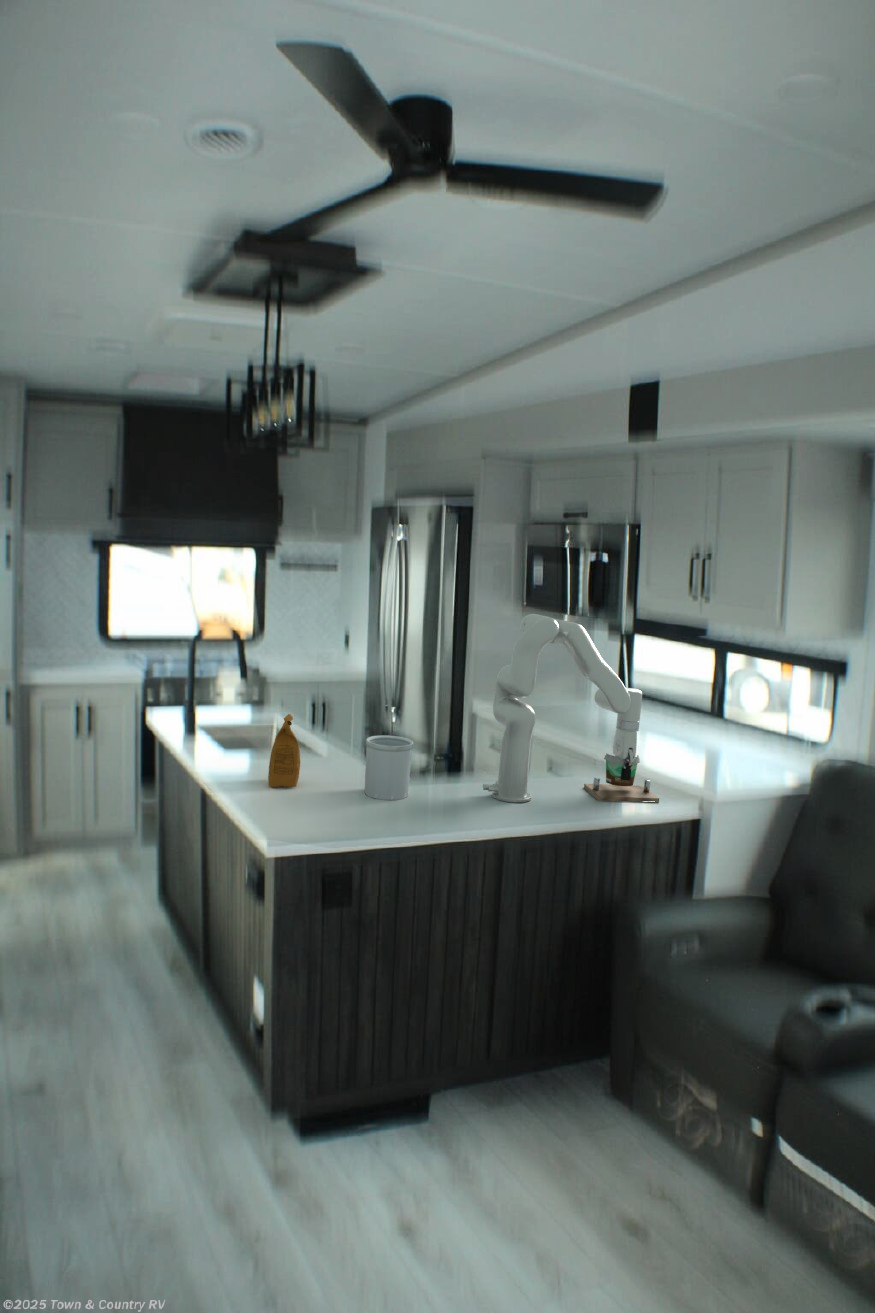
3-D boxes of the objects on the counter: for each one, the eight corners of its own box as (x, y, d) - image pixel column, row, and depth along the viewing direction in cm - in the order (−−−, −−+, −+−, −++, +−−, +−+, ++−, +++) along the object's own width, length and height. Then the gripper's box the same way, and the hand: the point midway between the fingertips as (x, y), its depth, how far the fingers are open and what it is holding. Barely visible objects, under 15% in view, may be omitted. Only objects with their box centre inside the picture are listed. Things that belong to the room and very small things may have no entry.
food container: (607, 786, 332) (610, 757, 331) (601, 782, 338) (604, 753, 337) (642, 787, 334) (645, 758, 333) (636, 783, 340) (639, 754, 339)
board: (598, 800, 328) (600, 784, 327) (583, 787, 343) (585, 772, 343) (658, 802, 331) (660, 786, 330) (641, 790, 347) (643, 774, 346)
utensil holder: (403, 803, 306) (407, 747, 304) (356, 797, 309) (360, 742, 307) (414, 791, 321) (418, 738, 319) (369, 786, 324) (373, 733, 321)
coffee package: (301, 780, 324) (305, 714, 321) (297, 790, 312) (301, 721, 309) (270, 778, 323) (274, 712, 321) (265, 788, 311) (269, 719, 308)
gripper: (608, 719, 342) (603, 771, 344) (625, 729, 325) (620, 784, 328) (629, 720, 343) (624, 772, 345) (647, 730, 327) (642, 784, 329)
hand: (622, 777), depth 336 cm, fingers closed on food container, 5 cm apart
